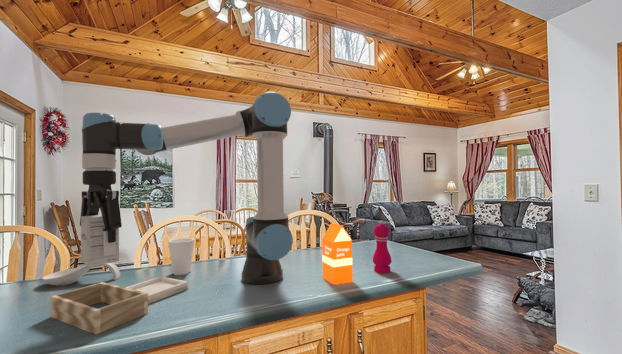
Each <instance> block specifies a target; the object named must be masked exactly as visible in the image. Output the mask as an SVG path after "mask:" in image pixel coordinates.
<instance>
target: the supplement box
mask: <svg viewBox="0 0 622 354" xmlns="http://www.w3.org/2000/svg"><path fill="white" fill-rule="evenodd" d="M80 217H81V216H80ZM103 229H105V225H104V221H103V217H102V214H98V215H93V216H82V217H81V226H80V230H81V231H80V233H81V234H80V237H81V238H80V241H81V242H80V246H81V247H80V249H81V250H80V252H81V253H80V255H81V256H80V259H81V260H80V261H81V263H83V264H84V265H87V266H88V267H89V266H94V267H96V266H95V265H97V266H102V265H101V264H106V263H116V262H119V261H120V228H117V230H116V254H113V255H108V256H104V246H103Z"/></svg>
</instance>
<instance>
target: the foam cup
mask: <svg viewBox="0 0 622 354" xmlns="http://www.w3.org/2000/svg"><path fill="white" fill-rule="evenodd" d="M194 246H195V239H194V238H192V237H191V238H190V237H181V238H174V239H170V240H168V250H169V256H170V263H171V264H170V265H171V271H172V274H174V276H182V275H187V274H190V273H191V270H192V269H191V267H192V260H193V252H194ZM189 272H190V273H189Z"/></svg>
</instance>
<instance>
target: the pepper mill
mask: <svg viewBox="0 0 622 354" xmlns="http://www.w3.org/2000/svg"><path fill="white" fill-rule="evenodd" d="M373 233H374V235H375V241H376V245H375V246H376V248H375V250H374V254H373V256H372V263H373V264H374V266H373V269H374V272H375V273H378V274H389V273H391V266H390V265H391V264H392V262H393V261H392V256H391V254H390V252H389V251H390V250H389V248H388V241H389V236H388V235H389V234H390V228H389V226H387V225H386V224H384V220H379V221H378V224H377V225H375V226H374V228H373Z"/></svg>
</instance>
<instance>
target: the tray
mask: <svg viewBox="0 0 622 354" xmlns="http://www.w3.org/2000/svg"><path fill="white" fill-rule="evenodd" d="M125 288H129V289H133V290H137V291H141V292H145V293H148V305H149V304H153V303H154V302H157V301H160V300H162V299H165V298H168V297H170V296H173V295H176V294H178V293H181V292H183V291H186V290H188V289H189V281H187V280H182V279H177V278H171V277H166V276H161V275H160V276H157V277H154V278H151V279H148V280H145V281H142V282H138V283H135V284H131V285H129V286H126V287H125Z"/></svg>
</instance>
